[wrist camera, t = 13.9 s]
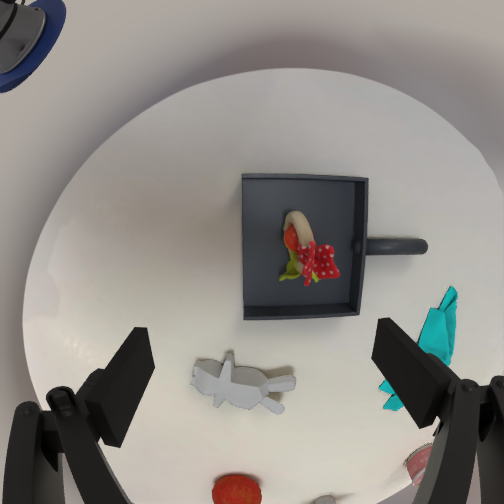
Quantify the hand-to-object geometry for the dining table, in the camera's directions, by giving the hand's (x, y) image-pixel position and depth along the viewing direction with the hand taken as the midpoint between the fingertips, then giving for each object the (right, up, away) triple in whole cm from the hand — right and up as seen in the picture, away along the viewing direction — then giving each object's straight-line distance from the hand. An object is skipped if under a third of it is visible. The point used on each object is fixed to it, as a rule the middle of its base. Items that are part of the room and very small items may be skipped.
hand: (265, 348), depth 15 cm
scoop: (+11, +6, +23) cm, 27 cm away
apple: (-4, -47, +34) cm, 58 cm away
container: (+43, -47, +35) cm, 73 cm away
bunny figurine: (-2, -14, +27) cm, 31 cm away
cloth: (+32, -14, +28) cm, 45 cm away
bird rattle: (+5, +6, +23) cm, 24 cm away
